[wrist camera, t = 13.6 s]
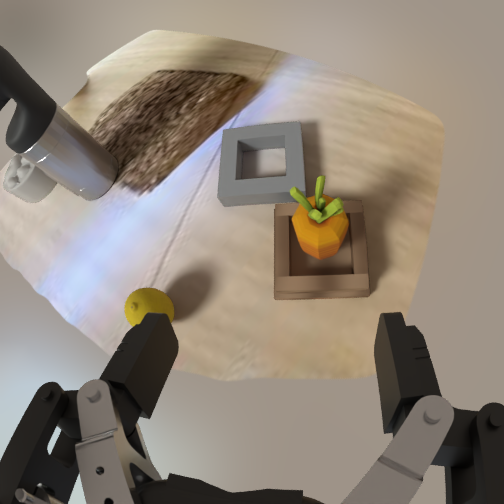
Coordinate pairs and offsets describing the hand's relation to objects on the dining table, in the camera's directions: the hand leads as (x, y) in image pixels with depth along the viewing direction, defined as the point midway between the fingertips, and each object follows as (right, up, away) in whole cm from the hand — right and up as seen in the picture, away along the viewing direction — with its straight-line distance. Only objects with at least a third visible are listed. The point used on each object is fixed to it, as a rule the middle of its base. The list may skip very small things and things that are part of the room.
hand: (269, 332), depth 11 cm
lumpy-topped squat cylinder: (-47, +18, +43) cm, 66 cm away
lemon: (-12, -5, +28) cm, 31 cm away
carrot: (+8, +3, +24) cm, 25 cm away
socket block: (+1, +15, +30) cm, 34 cm away
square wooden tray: (+8, +3, +25) cm, 27 cm away
